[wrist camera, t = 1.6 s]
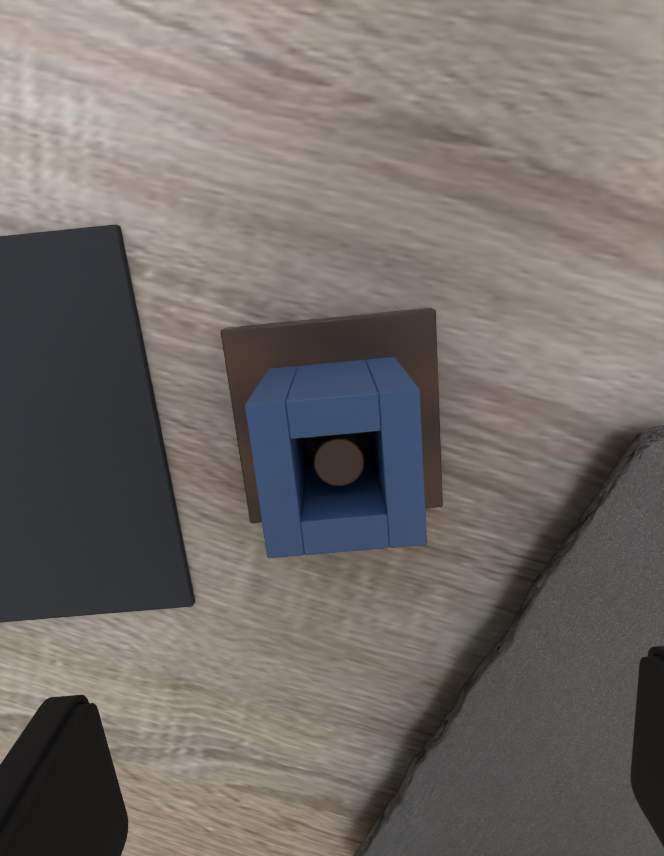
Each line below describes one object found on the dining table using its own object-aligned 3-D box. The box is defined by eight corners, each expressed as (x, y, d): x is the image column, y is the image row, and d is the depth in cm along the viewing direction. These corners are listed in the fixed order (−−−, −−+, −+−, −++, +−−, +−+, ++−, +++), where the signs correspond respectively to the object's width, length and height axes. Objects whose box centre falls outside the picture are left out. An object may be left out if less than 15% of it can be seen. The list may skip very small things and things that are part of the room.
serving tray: (599, 957, 38) (649, 1084, 32) (316, 863, 35) (313, 983, 29) (999, 533, 28) (1178, 603, 22) (647, 352, 25) (746, 377, 19)
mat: (-220, 260, 24) (-232, 260, 23) (120, 225, 23) (115, 224, 23) (-80, 624, 29) (-87, 630, 29) (195, 601, 29) (192, 606, 29)
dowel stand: (224, 327, 25) (188, 345, 18) (431, 307, 24) (466, 319, 18) (252, 515, 28) (230, 586, 21) (439, 499, 27) (471, 565, 21)
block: (268, 368, 24) (244, 404, 18) (394, 356, 24) (419, 388, 17) (283, 485, 26) (267, 558, 19) (402, 474, 26) (426, 545, 19)
